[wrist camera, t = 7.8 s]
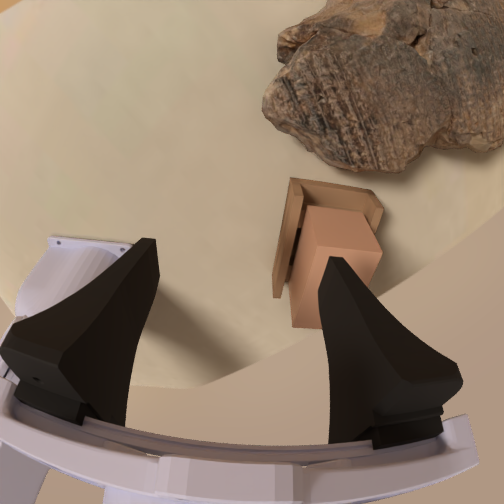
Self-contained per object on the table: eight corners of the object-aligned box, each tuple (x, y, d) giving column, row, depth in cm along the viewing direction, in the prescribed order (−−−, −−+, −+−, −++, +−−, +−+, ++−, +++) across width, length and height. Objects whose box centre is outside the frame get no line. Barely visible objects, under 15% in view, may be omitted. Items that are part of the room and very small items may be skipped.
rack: (340, 280, 26) (346, 302, 24) (272, 274, 26) (273, 297, 24) (371, 190, 21) (384, 208, 18) (290, 177, 20) (294, 195, 18)
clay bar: (335, 286, 24) (346, 329, 20) (288, 282, 24) (292, 327, 20) (362, 212, 20) (383, 253, 16) (307, 205, 19) (317, 245, 16)
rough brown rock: (304, 194, 22) (512, 127, 16) (313, 231, 18) (549, 147, 12) (217, 18, 14) (467, -32, 8) (201, 6, 10) (505, -39, 4)
